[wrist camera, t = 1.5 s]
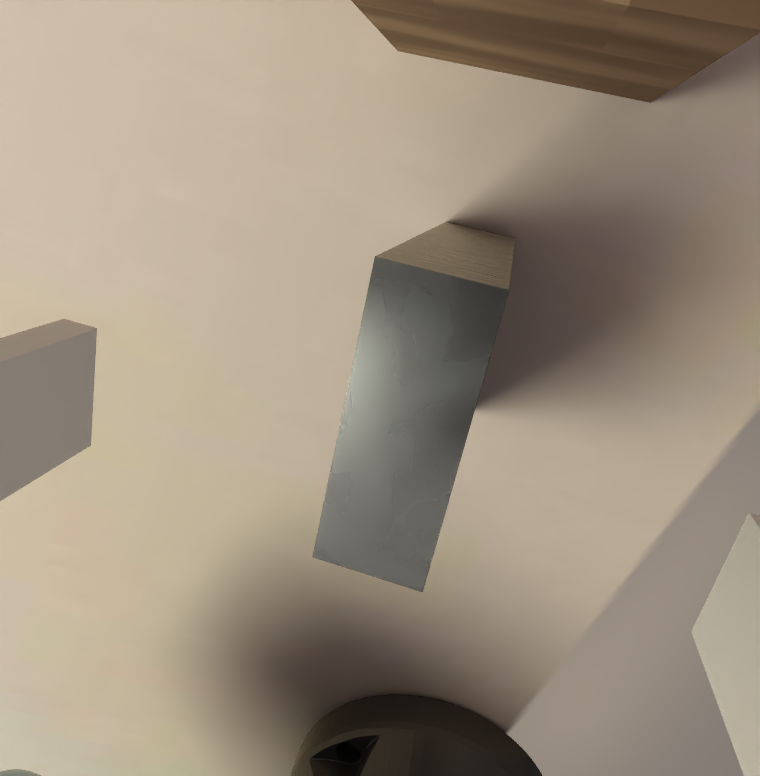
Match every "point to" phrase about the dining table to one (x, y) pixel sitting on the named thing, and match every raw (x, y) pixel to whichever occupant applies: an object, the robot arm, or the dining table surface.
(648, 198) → the dining table surface
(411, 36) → the wooden planter box
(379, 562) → the grey slab
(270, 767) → the dining table surface
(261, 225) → the dining table surface
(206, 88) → the dining table surface
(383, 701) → the robot arm
